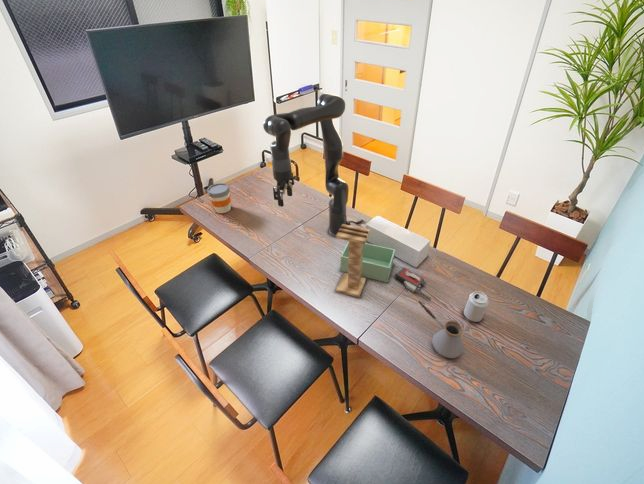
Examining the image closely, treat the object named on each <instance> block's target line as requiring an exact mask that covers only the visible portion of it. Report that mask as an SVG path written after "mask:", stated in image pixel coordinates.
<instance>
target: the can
mask: <svg viewBox="0 0 644 484" xmlns="http://www.w3.org/2000/svg"><path fill="white" fill-rule="evenodd" d="M489 304H490V301H489V298H488V295H486V293H484V292H482V291H479V290H478V291H477V290H476V291H473V292H472V293H470V294H469V296H468V299H467V301H466V304H465V306H464V310H463V315H464V317H465V318H466V319H468V320H469V321H471V322H474V323H475V322H476V323H477V322H480V321H481V320H483V317H484V315H485V313H486V310H487V308H488V306H489Z"/></svg>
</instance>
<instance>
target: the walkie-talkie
mask: <svg viewBox="0 0 644 484" xmlns="http://www.w3.org/2000/svg"><path fill="white" fill-rule="evenodd" d="M394 277H395V278H396V279H397V280H399V281H400V282H402V283H403V284H404V286H405V288H406V289H407V290H409V291H411V292H412V293H417V294H419V295H421V296H422V297H424V298H426V299H427V300H430V301H431V300H432V298H431V297H430V296H429V295H427V294H425V293H423V292H422V291H420V288H421V287H422V286H424V285H425V283H426V282H425V278H424V277H422V276H420V275H418V274H417V273H415V272H414V271H411V270H410V269H408V268H406V267H402V268H401V269H400V270H399V271H398V272H397V273H395V274H394Z"/></svg>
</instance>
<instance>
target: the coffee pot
mask: <svg viewBox="0 0 644 484" xmlns="http://www.w3.org/2000/svg"><path fill="white" fill-rule="evenodd" d="M418 304H419V305H420V306H421V308H423V309H424V311H425V312H426V314H428V315H429V316H430V317H431V318H432V319H433V320H434V321H435V322H436V323H437V324H438V325H439V326H440V327H441V329H439V330H438V331H437V332H435V333H434V335H433V336H432V339H431V341H432V346H433V348H434V350H435V351H436V353H437V354H438V355H440V356H442V357H444V358H446V359H456V358H458V357H460V356H461V355H462V354H463V352H464V342H463V339H462V336H461V334H462V333H463V327H462V326H461V323H460V322H458V321H456V320H446V322H444V323H442V322H441V321H440V320H439V319H437V317H436V316H435V314H433V312H431V310H430V309H429V308H428V307H427V306H425V304H423V303H422V301H421V300H419V301H417V302H416V305H418Z"/></svg>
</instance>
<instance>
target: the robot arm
mask: <svg viewBox="0 0 644 484" xmlns="http://www.w3.org/2000/svg"><path fill="white" fill-rule="evenodd" d="M316 105H317V106H307V107H301V108H298V109H297V108H296V109H295V110H292V111H289V112H283V113H282V112H281V113H276V114H271V115H269V116H267V117H266V118H265V120H264V121H263V123H262V124H263V125H262V127H263V130H264V132H265V133H266V134H268V135H270V136H273V137H275V138H276V140H274V141H272V142H271V143H270V145H269V146H270V156H271V167H272V169H271V170H272V175H273V179H274V180H275V181H276V185H275V186H273V187H272V192H273V193H272V194H273V200H274V201H277V205H278V207H281V208H282V207H284V206H285V204H284V195H285V194H286V195H287V196H288V197H292V196H293V187H294V185H295V176H294V173H293V171H292V169H293V168H292V160H291V156H290V155H291V154H290V142H291V136H292V131H298V130H300V129H302V128H305V127H307V126H310V125H313V124H316V123H320V124H319V125H320V130H321V137H322V147H323V148H322V149H323V158H324V168H325V170H324V171H325V177H324V179H325V182H324V183H325V184H324V185H325V186H324V187H325V190H326V191H327V193H328V194H330V195H331V196H333V198H331V199H329V201H328V232H329V235H331V236H332V237H336V235H337V233H338V229H340V226H341V225H342V224H346V225H350V226H351V223H353V224H355V225H358V224H360V223H362V222H364V220H363V219H361V220H359V221H354V220H347V218H348V216H347V204H348V202H349V184H348V182H346V181H344V180H342V179H341V178H340V175H339V166H340V165H341V163H342V160H343V158H344V145H343V139H342V138H341V136H340V133H339V132H338V130H337V129H336V127H335V124H334V119H339V118H341V117H343V115H344V113H345V112H346V107H347V106H346V105H347V104H346V101H345V99H344V98H343V97H342V96H339V95H337V94H332V93H326V92H325V93H324V92H323V93H322V94H320V95H319V97H318V99H317V104H316Z"/></svg>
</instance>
